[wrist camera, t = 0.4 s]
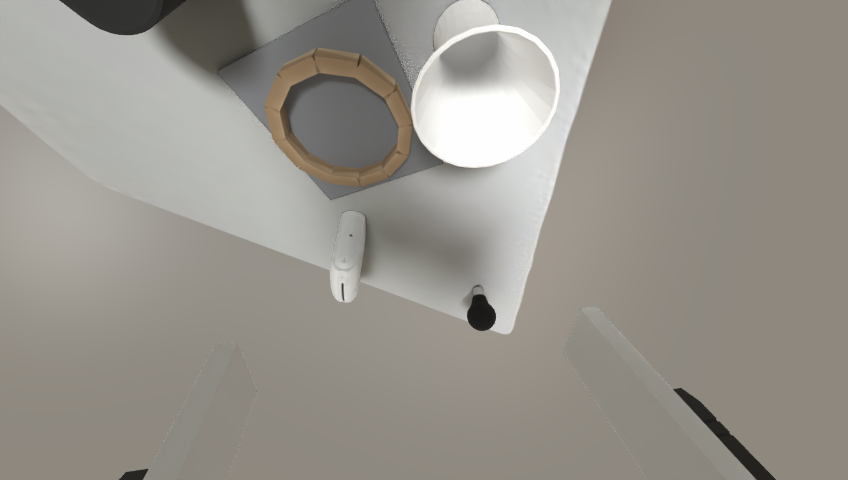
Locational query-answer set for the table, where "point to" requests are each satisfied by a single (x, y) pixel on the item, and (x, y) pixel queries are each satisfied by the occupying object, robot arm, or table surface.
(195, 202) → the table surface
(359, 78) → the collar ring
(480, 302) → the light bulb
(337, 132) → the collar mat
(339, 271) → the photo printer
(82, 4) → the pen holder
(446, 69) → the cup
